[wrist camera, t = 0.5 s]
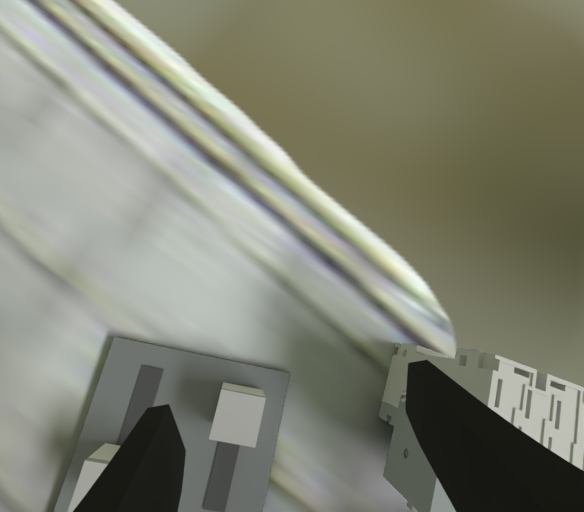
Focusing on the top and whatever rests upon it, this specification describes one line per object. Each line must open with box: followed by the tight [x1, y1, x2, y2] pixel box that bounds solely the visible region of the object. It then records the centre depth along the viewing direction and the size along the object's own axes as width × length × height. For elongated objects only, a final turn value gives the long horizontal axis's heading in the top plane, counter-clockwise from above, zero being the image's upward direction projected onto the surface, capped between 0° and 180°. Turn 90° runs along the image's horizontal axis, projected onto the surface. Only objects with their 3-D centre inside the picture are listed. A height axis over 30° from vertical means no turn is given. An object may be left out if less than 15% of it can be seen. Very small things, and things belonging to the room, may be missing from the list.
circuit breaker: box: [378, 343, 584, 512], centre depth 28 cm, size 8×14×15 cm, turn 161°
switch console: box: [54, 337, 290, 512], centre depth 30 cm, size 18×18×1 cm
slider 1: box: [68, 443, 120, 512], centre depth 27 cm, size 4×4×4 cm
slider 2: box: [209, 382, 266, 448], centre depth 29 cm, size 4×4×4 cm
